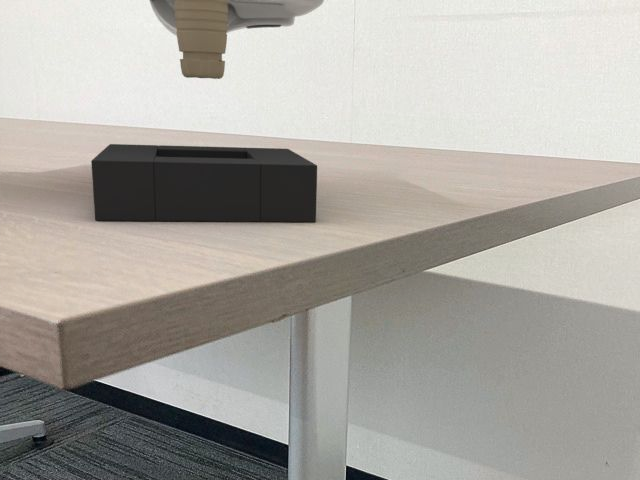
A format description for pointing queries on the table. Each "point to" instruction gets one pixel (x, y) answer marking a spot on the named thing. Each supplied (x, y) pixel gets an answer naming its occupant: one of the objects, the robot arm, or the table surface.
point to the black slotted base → (203, 184)
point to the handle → (202, 37)
